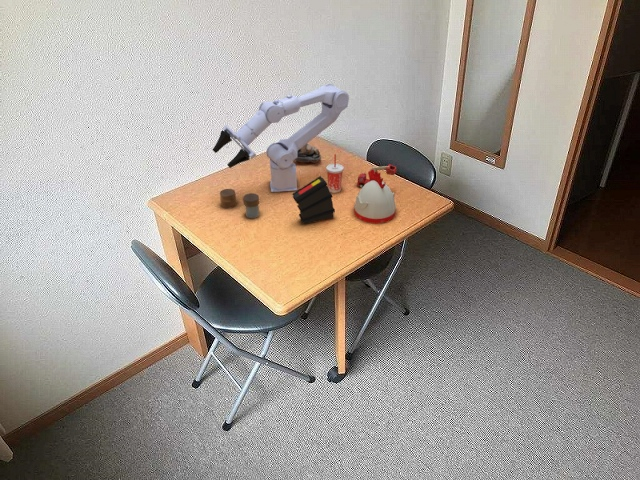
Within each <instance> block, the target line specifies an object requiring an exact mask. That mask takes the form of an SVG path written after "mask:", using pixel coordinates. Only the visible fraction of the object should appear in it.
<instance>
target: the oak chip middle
mask: <svg viewBox="0 0 640 480" xmlns="http://www.w3.org/2000/svg"><path fill="white" fill-rule="evenodd" d="M219 198H220V202H221V201H223V202H232V201H234V200H235V199H236V200H237V196H236V190H235V189H232V188H223V189H222V190H221V191H220V192H219Z"/></svg>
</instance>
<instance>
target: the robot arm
mask: <svg viewBox="0 0 640 480" xmlns="http://www.w3.org/2000/svg"><path fill="white" fill-rule="evenodd" d="M349 100H350V97H349V93H348V92H347V91H345V90H343V89H342V88H341V89H340V88H338V87H337V86H335V85H334V84H333V83H326V84H325V85H321V86H320V87H319V88H317V89H313V90H312V91H309V92H306V93H304V94H302V95H300V96H296V95H292V94H287V95H286V97H283V98H280V99H274V100H273V101H270V100H269V101H265V102H261V103H260V105H259V107H258V110H257V111H256V112H255V113H254V115H253V116H252V117H251V118H249V119H248V121H246V122H245V123H244V124H243V125H242V126H241V127H240V128H239V129H238V130H237V131H236V132H235V131H234V130H232V128H231V127H229V126H228V124H225V125H224V126H223V127H222V130H221V131H220V134H219V138H218V139H217V141H216V143H215V145H214V147H213V148H212V151H213V152H214V153H215V154H217V153H218V152H220V150H221V149H222V148H223V147H225V146H226V145H227V144H229V143H231V142H233V141H234V142H235V143H236V145H238V146H239V148H240V150H239V151H238V152H237V154H236V155H235V156H234V157H233V158H232V159H231V160H230V161H229V162H228V163H227V167H228V168H229V169H232V168H233V167H235V166H237V165H239V164H241V163H244V162H247V161H250V160H253V159H254V158H255V157H256V156H257V154H256V153H255V152H254V151H253V150H252V148H250V145H251V144H252V143H253V142H254V141H255V140H256V139H257V138H258V137H259V136H260V135H261V134H262V133H263V132H264V131H265V130H267V128H268V127H269V126H270V125H272V124H276V123H277V124H278V123H279V122H280V121H282V119H283V118H284V117H287V116H290V115H293V114H296V113H299V111H300V109H301V108H302V107H306V106H310V105H313V104H319V103H321V105H320V106H321V112H320V113H319V114H317V115H316V116H314V117H313V119H311V120H310V121H309V122H307V123H305V125H303V126H302V127H301V128H300V129H298V130H297V131H296V132H294V133H293V134H292V135H291V136H289V137H288V138H283V139H279V140H278V141H275V142H273V143H271V144H269V145H268V146H267V148H266V152H265V153H266V157H267V158H268V159H269V166H270V167H269V168H270V181H269V185H270V192H271V193H279V192H280V193H281V192H291V191H292V192H293V191H294V192H296V191H297V190H298V175H297V164H296V163H295V159H296V158H297V153H298V150H299V149H301V148H302V147H303V146H305V145H306V144H309V143H310V142H311V141H312V140H314V139H315V138H316V137H317V136H319V135H320V134H321V133H322V132H323V131H325V130H326V129H328V127H330V126H331V125H333V124H334V123H335V122H336V121H337V119H338V118H339V117H340V115H341V113H342V112H343V111H344V110H346V109H347V108H348V105H349Z"/></svg>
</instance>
